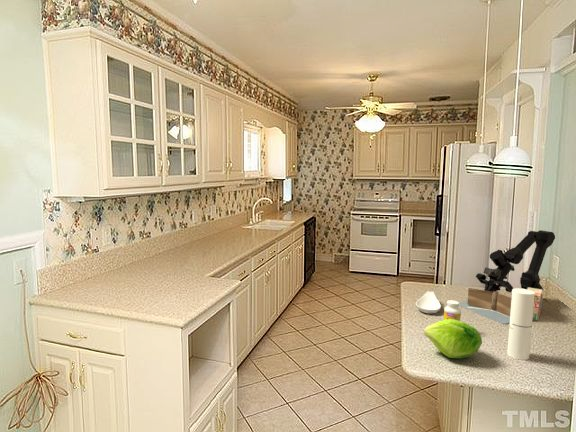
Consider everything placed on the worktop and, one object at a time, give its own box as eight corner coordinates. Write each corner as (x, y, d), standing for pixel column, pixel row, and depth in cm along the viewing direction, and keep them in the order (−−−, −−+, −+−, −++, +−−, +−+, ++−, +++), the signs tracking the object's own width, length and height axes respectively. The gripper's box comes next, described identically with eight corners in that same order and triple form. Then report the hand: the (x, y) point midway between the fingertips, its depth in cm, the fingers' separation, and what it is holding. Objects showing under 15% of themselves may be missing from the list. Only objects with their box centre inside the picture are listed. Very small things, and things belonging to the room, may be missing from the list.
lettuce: (420, 343, 155) (428, 310, 156) (474, 360, 148) (482, 325, 149) (420, 350, 141) (428, 313, 142) (480, 369, 134) (488, 330, 135)
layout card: (478, 300, 209) (478, 300, 208) (528, 320, 181) (528, 319, 181) (455, 303, 203) (455, 303, 203) (503, 324, 176) (503, 323, 176)
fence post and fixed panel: (494, 309, 195) (495, 291, 194) (522, 320, 180) (523, 300, 179) (490, 309, 194) (492, 291, 193) (518, 320, 180) (519, 301, 179)
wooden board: (467, 303, 201) (469, 287, 200) (491, 308, 195) (492, 291, 194) (467, 304, 200) (468, 288, 199) (491, 309, 193) (492, 292, 192)
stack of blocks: (527, 306, 201) (529, 283, 199) (541, 308, 197) (544, 285, 196) (522, 317, 184) (524, 292, 182) (538, 320, 180) (540, 295, 179)
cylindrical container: (520, 361, 141) (526, 295, 138) (502, 353, 148) (507, 289, 145) (533, 357, 144) (539, 293, 141) (515, 349, 150) (520, 287, 148)
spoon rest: (440, 317, 184) (440, 303, 183) (414, 314, 188) (415, 299, 188) (441, 302, 205) (442, 289, 205) (418, 299, 210) (418, 286, 209)
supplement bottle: (443, 332, 167) (444, 303, 165) (442, 326, 173) (444, 298, 171) (460, 334, 164) (462, 305, 163) (459, 328, 170) (460, 300, 169)
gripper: (479, 258, 205) (462, 280, 202) (510, 266, 188) (491, 290, 185) (489, 271, 209) (472, 293, 206) (520, 280, 191) (503, 304, 189)
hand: (484, 295), depth 196 cm, fingers closed
